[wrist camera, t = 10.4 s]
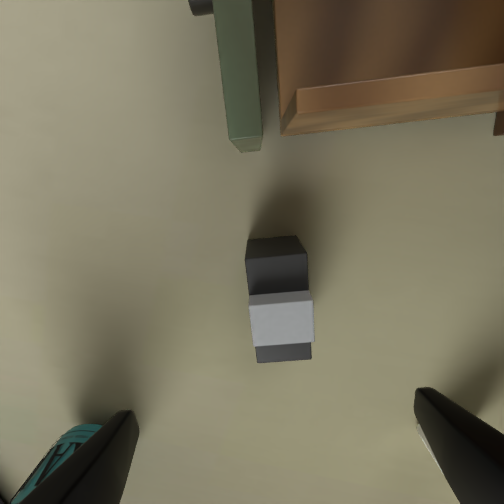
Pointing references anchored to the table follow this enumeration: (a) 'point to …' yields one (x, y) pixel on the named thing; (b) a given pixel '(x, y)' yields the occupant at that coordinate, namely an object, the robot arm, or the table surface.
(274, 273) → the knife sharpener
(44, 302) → the table surface
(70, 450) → the beverage bottle
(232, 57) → the drawer
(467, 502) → the robot arm
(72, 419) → the table surface
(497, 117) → the cabinet
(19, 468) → the table surface
